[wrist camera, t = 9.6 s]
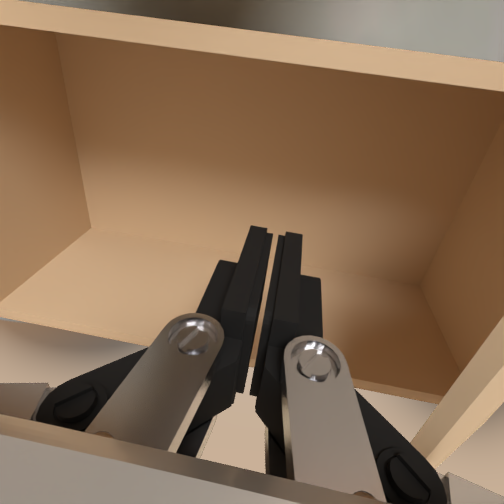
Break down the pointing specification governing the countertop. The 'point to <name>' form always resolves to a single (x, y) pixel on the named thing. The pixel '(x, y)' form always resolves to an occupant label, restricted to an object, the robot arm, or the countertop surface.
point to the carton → (250, 183)
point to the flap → (465, 402)
